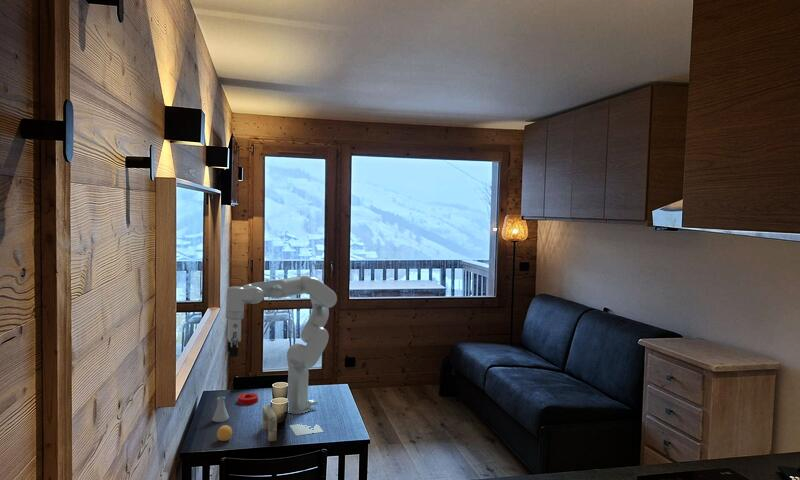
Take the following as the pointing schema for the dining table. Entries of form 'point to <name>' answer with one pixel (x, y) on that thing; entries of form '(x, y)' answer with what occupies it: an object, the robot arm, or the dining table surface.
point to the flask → (220, 411)
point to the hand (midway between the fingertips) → (232, 353)
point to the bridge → (269, 422)
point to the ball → (224, 433)
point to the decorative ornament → (247, 399)
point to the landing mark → (305, 429)
